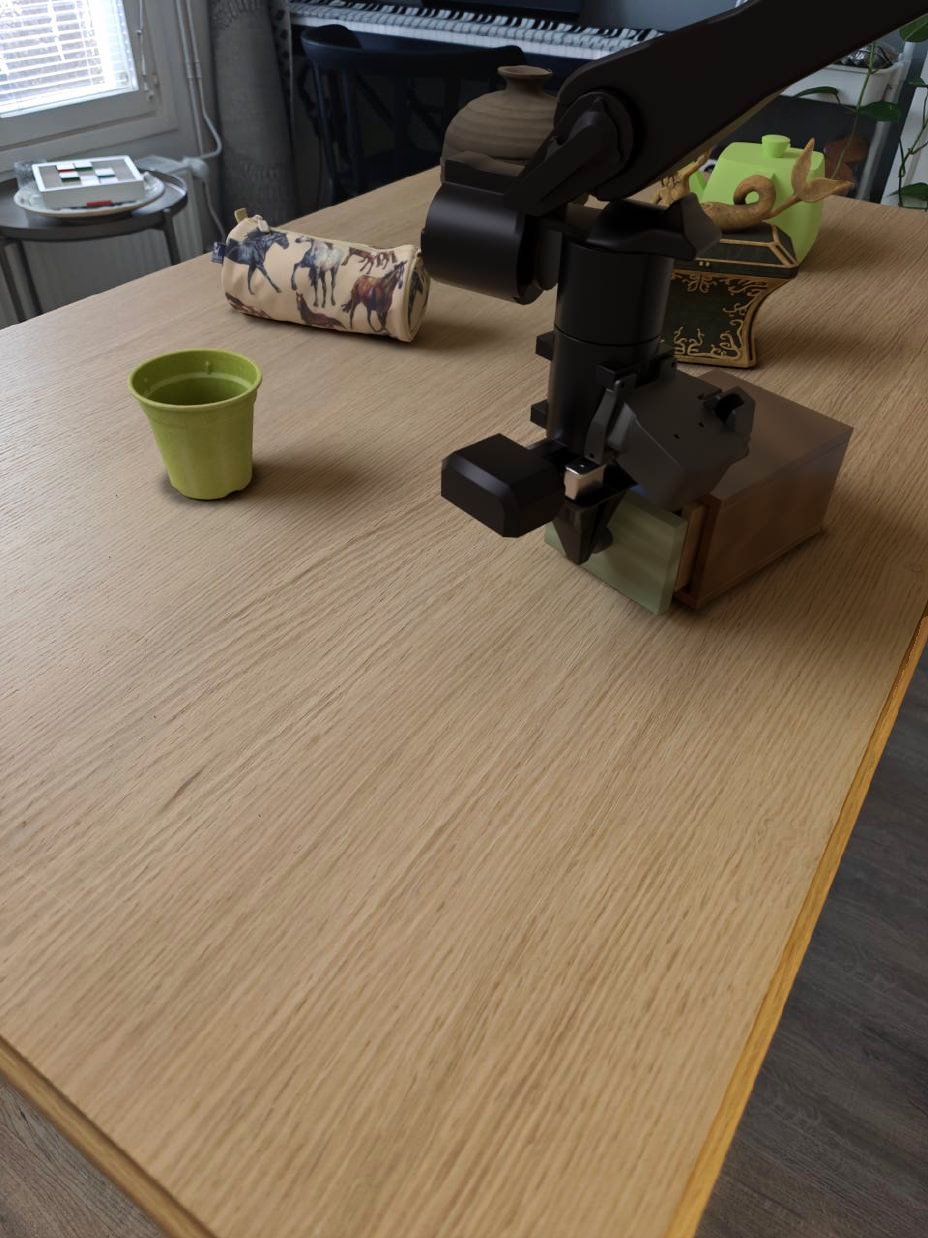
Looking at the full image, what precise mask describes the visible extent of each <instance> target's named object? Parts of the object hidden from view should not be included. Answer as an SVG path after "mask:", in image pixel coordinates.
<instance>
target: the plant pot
mask: <svg viewBox="0 0 928 1238" xmlns="http://www.w3.org/2000/svg"><path fill="white" fill-rule="evenodd" d="M262 382H263V370H262V368H261V366H260V365H259V363H258V362H257V361H255V360H254V359H252V358H251V357H250V356H247V355H245V354H244V353H240V352H237V351H233V350H229V349H222V348H216V347H215V348H214V347H191V348H183V349H179V350H173V351H169V352H165V353H161V354H157V355H156V356H153V357H150V358H148V359H146V360H144V361H142V362H141V363H139V364H138V365H136V367H134V368H133V370H131V371H130V373H129V375H128V377H127V382H126V384H127V388H128V391H129V392H130V395H132V397H133V398H134V399H135V400H137V402H138V404H139V407H140V408H141V410H142V411H143V413H144V414H145V415H146V417H147V420H148V422H149V425H150V428H151V431H152V434H153V437H154V439H155V442H156V445H157V447H158V450H159V453H160V455H161V456H160V457H161V459H162V461H163V464H164V468H165V470H166V472H167V476H168V478H169V481H170V484H171V486H172V487H173V488H175V489H176V490H177V491H178V492H180V493H181V494H182V495H183V496H184V497H187V498H191V499H198V500H217V499H222V498H225V497H227V496H228V495H229V494H231V493H233V492H235V491H242V490H244V489H245V488H246V487H247V486H249V484H250V482H251V480H252V477H253V449H254V448H253V444H254V415H255V413H254V411H255V403H256V401H257V398H258V389H260V387H261V385H262Z"/></svg>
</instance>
